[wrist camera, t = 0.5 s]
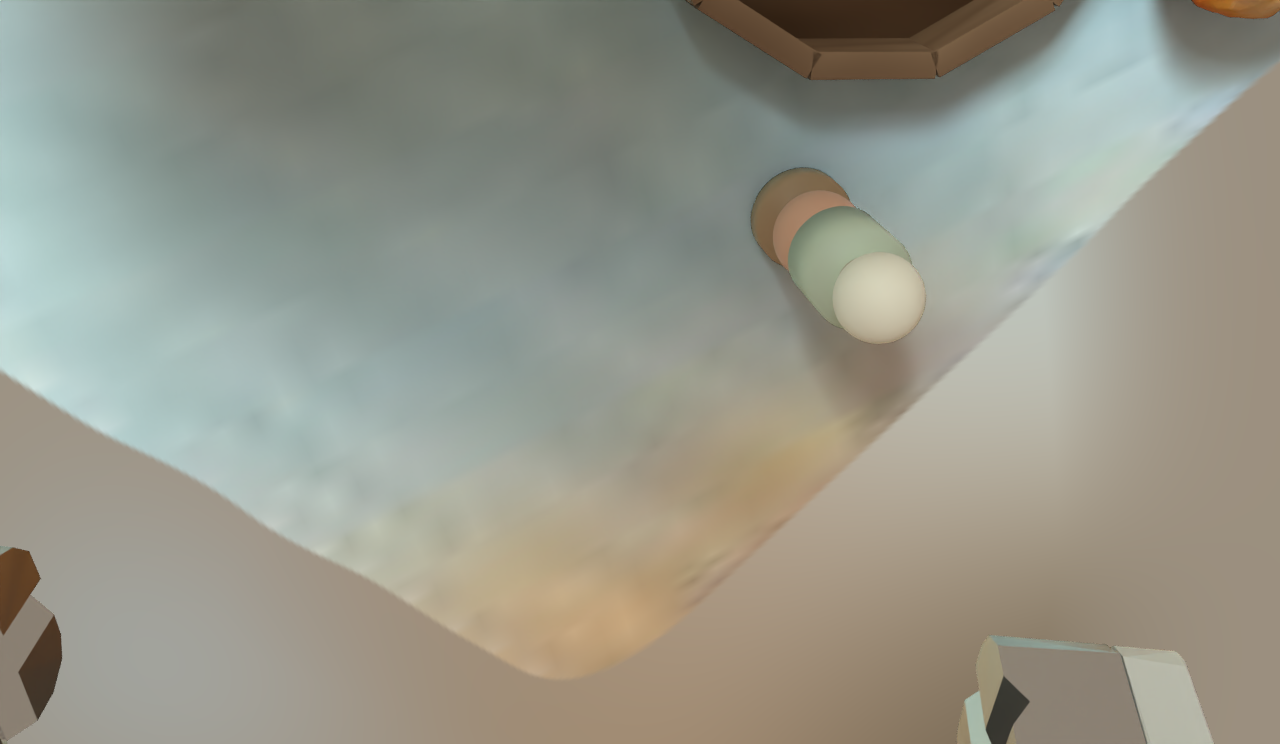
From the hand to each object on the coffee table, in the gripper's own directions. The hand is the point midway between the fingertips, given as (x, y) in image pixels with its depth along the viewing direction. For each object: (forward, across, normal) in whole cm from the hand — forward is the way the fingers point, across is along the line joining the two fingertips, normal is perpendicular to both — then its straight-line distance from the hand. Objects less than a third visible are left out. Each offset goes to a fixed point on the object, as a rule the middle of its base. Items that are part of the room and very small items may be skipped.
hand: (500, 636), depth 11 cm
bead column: (+38, -5, +16) cm, 41 cm away
